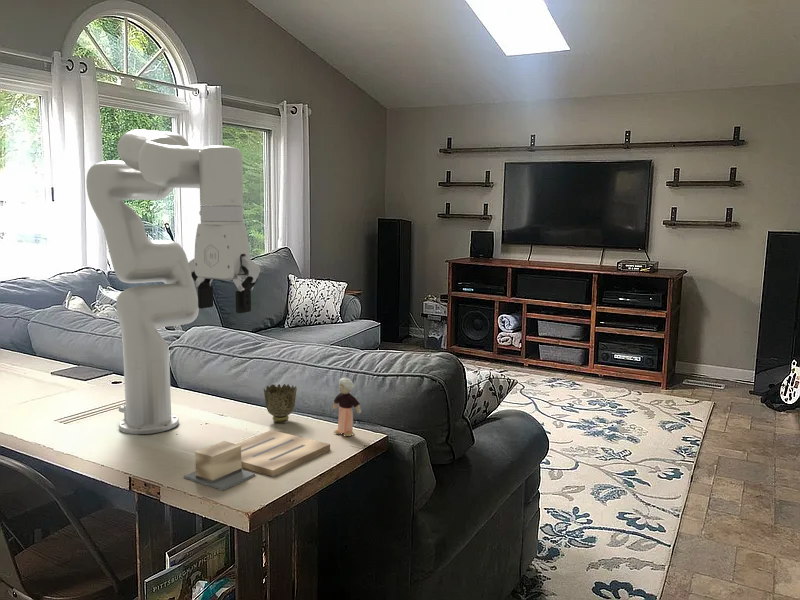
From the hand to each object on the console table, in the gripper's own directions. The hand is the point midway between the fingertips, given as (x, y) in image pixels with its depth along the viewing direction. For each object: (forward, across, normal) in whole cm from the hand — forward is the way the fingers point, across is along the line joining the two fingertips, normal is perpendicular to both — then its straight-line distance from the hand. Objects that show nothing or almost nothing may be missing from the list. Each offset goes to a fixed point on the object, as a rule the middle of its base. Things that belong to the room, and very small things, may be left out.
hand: (224, 309), depth 128 cm
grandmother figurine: (+31, +7, +28) cm, 42 cm away
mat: (+30, +2, -4) cm, 31 cm away
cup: (+31, -11, +27) cm, 42 cm away
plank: (+30, +2, +10) cm, 32 cm away
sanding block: (+30, +2, -4) cm, 30 cm away
